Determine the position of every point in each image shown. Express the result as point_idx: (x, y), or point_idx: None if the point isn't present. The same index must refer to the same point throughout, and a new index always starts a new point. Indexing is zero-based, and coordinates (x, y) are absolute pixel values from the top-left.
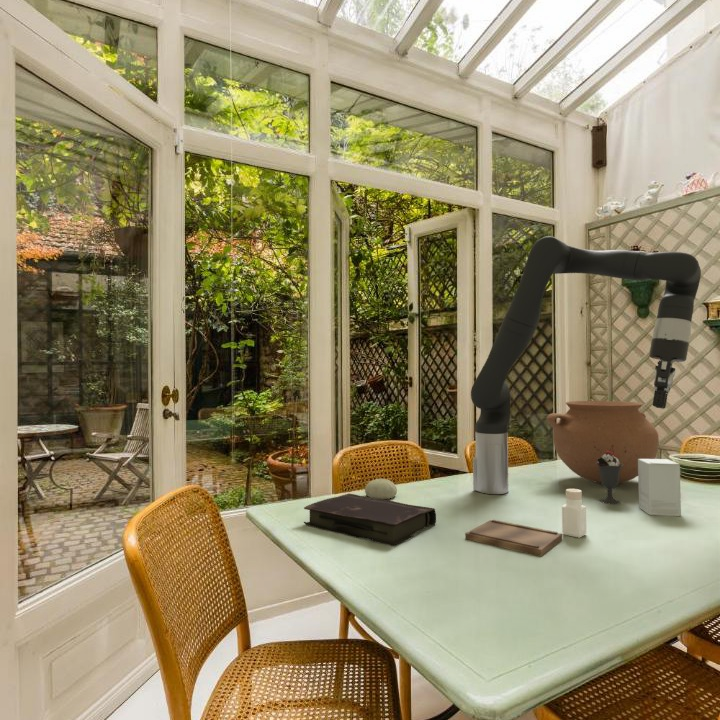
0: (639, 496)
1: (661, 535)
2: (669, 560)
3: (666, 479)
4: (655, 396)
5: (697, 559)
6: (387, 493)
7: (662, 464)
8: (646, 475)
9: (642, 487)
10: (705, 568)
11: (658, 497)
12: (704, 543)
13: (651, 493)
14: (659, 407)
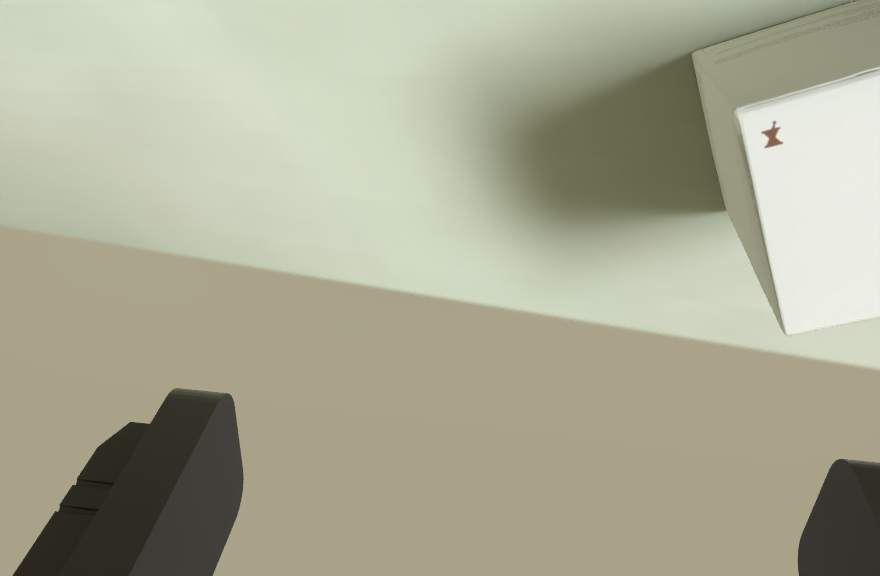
0: (877, 5)
1: (325, 97)
2: (28, 107)
3: (739, 205)
4: (103, 523)
5: (98, 198)
6: None
7: (758, 216)
8: (754, 78)
9: (822, 34)
10: (26, 209)
11: (711, 124)
12: (303, 247)
13: (707, 88)
14: (820, 506)
